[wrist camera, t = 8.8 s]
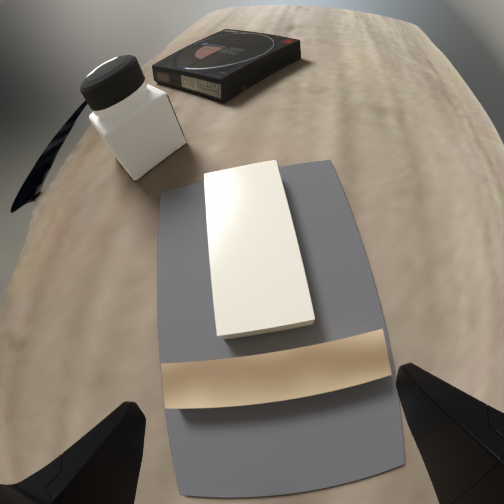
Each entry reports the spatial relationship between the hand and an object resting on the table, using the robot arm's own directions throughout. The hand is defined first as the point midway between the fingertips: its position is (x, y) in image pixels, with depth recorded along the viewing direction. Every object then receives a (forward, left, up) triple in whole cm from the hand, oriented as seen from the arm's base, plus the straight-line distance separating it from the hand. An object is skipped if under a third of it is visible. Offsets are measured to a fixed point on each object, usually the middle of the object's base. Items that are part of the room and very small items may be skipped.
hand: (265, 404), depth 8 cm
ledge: (+1, 0, -9) cm, 9 cm away
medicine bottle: (+19, +20, -10) cm, 29 cm away
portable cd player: (+39, +18, -11) cm, 44 cm away
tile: (+9, +5, -8) cm, 13 cm away
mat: (+4, +2, -10) cm, 11 cm away
